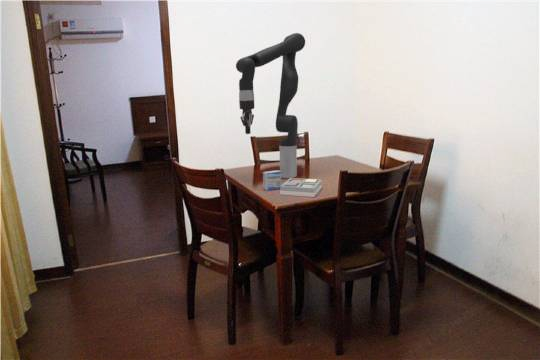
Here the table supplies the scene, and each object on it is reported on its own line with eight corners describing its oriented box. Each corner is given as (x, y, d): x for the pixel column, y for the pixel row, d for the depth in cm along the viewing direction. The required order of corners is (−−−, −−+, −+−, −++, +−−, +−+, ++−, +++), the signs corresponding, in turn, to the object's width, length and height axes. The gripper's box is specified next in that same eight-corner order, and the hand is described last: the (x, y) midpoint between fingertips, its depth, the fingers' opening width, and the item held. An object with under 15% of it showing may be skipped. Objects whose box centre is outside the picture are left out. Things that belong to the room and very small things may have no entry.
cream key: (307, 182, 196) (307, 178, 195) (317, 182, 194) (317, 179, 194) (304, 184, 191) (304, 181, 191) (314, 185, 190) (314, 182, 189)
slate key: (288, 185, 191) (288, 181, 191) (298, 185, 190) (298, 182, 189) (285, 188, 187) (284, 184, 186) (295, 188, 185) (295, 185, 185)
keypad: (290, 185, 201) (290, 178, 200) (321, 187, 196) (321, 179, 195) (280, 194, 187) (280, 186, 186) (314, 197, 181) (314, 188, 180)
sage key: (303, 187, 189) (303, 184, 189) (313, 188, 188) (313, 185, 187) (300, 190, 185) (300, 187, 184) (311, 191, 183) (311, 187, 183)
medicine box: (266, 190, 194) (266, 173, 191) (263, 188, 198) (262, 171, 195) (281, 188, 197) (281, 171, 194) (277, 186, 201) (277, 169, 198)
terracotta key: (292, 183, 198) (292, 179, 198) (302, 183, 197) (302, 180, 196) (289, 185, 194) (289, 182, 193) (299, 186, 192) (299, 182, 192)
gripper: (244, 98, 210) (246, 132, 214) (234, 100, 198) (236, 135, 202) (258, 98, 208) (259, 132, 212) (248, 100, 195) (250, 135, 200)
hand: (248, 133), depth 207 cm, fingers closed
